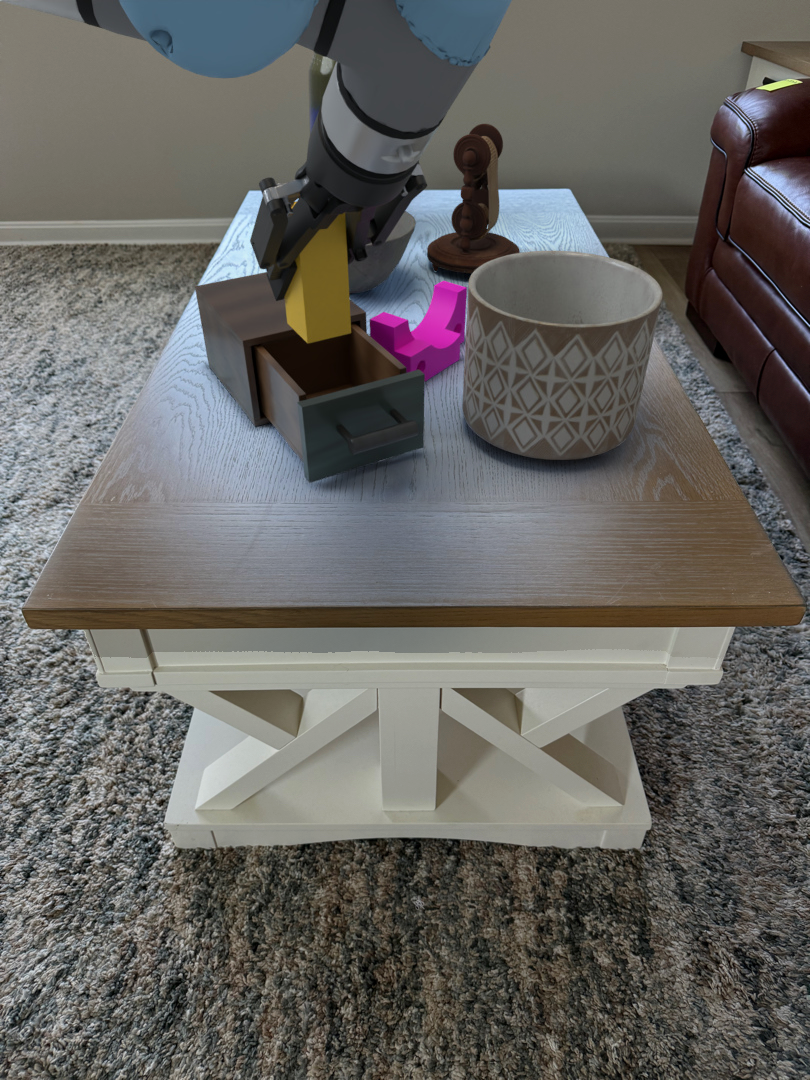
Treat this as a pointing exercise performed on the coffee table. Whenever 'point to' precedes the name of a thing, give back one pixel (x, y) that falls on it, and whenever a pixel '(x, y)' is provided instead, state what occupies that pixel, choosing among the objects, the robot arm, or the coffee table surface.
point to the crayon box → (321, 286)
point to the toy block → (426, 332)
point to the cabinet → (245, 332)
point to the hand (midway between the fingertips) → (300, 281)
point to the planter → (557, 352)
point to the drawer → (339, 401)
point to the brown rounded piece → (474, 207)
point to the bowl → (381, 258)
